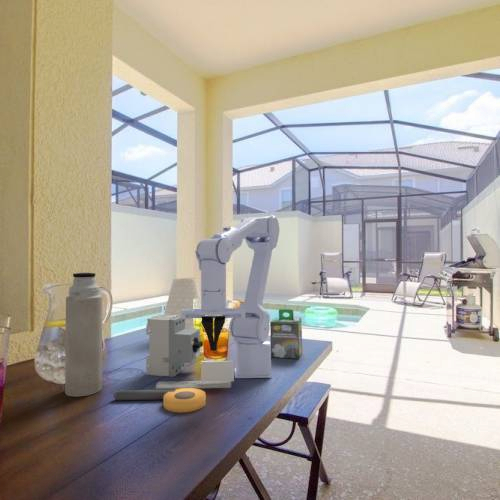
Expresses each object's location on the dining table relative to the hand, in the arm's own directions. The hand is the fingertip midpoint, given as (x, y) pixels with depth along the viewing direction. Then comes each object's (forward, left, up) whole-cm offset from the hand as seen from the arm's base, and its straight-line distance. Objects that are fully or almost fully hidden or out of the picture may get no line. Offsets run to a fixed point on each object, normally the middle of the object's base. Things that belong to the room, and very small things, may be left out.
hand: (213, 349), depth 85 cm
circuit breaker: (+11, -18, -11) cm, 24 cm away
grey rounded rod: (+15, +2, -10) cm, 18 cm away
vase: (+14, -62, -11) cm, 64 cm away
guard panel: (-1, -6, -9) cm, 11 cm away
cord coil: (+6, +4, -10) cm, 13 cm away
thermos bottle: (+31, -5, -11) cm, 33 cm away
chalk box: (-22, -34, -11) cm, 42 cm away
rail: (+5, -6, -10) cm, 13 cm away
